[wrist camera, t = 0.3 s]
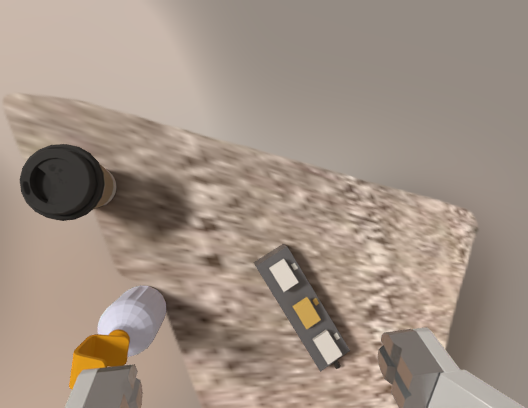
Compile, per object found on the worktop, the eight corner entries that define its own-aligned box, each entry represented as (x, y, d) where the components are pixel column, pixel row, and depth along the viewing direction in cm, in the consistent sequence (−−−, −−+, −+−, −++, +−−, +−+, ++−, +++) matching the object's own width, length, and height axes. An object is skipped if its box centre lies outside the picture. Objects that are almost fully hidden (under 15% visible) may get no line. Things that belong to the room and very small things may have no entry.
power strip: (349, 353, 66) (359, 364, 61) (321, 373, 65) (329, 386, 61) (283, 243, 64) (287, 246, 60) (253, 262, 63) (256, 267, 59)
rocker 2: (318, 316, 60) (320, 319, 59) (304, 326, 60) (306, 329, 59) (306, 296, 59) (309, 299, 58) (292, 306, 59) (294, 309, 58)
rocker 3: (340, 352, 60) (342, 354, 59) (326, 362, 60) (328, 364, 58) (326, 329, 61) (327, 330, 59) (312, 338, 60) (313, 340, 59)
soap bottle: (163, 333, 61) (125, 419, 37) (114, 330, 60) (40, 416, 35) (169, 287, 61) (135, 342, 37) (120, 282, 60) (51, 336, 36)
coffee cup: (56, 164, 59) (0, 151, 44) (119, 150, 60) (86, 132, 45) (73, 224, 59) (23, 231, 44) (135, 208, 60) (107, 209, 45)
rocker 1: (297, 281, 59) (298, 282, 58) (283, 291, 58) (283, 292, 57) (283, 258, 60) (283, 258, 58) (268, 268, 59) (269, 268, 58)
